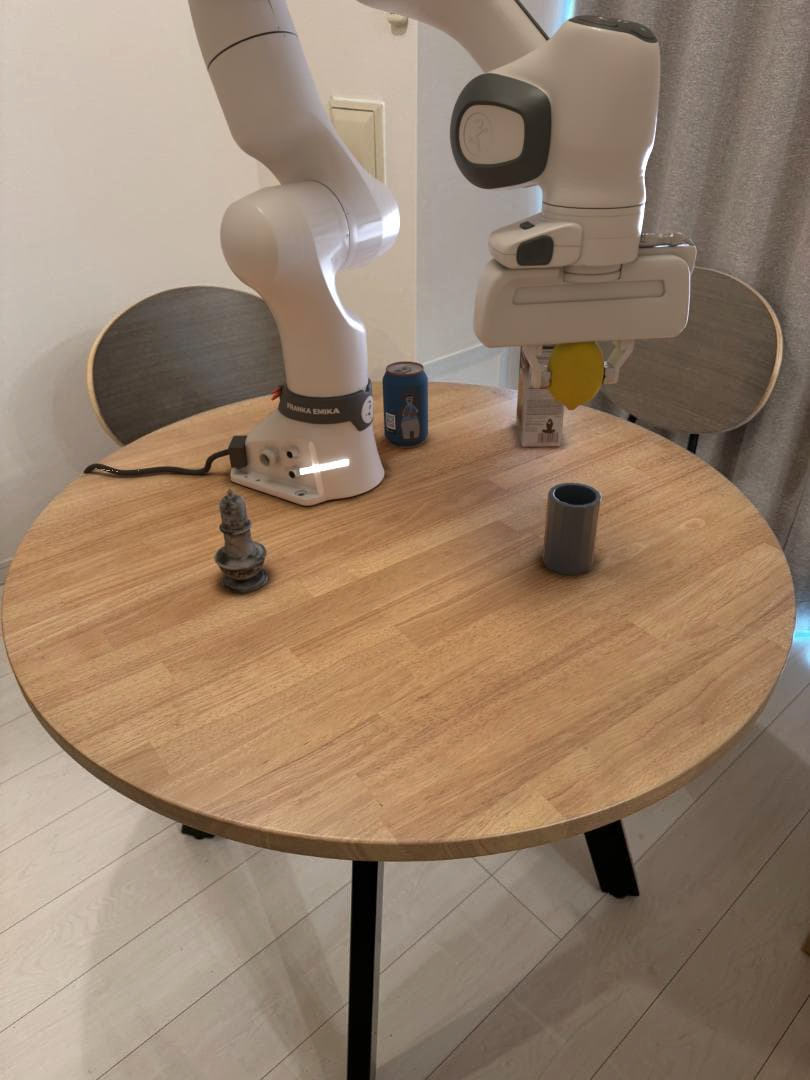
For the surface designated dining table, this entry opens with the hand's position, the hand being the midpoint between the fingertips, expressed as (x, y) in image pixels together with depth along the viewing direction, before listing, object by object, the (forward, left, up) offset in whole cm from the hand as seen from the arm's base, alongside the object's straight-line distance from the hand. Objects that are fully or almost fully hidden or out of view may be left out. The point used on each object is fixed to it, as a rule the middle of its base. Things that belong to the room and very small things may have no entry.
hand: (573, 384), depth 73 cm
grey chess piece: (-33, -14, -23) cm, 43 cm away
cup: (+1, +3, -23) cm, 23 cm away
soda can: (-30, +28, -23) cm, 47 cm away
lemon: (0, 0, -3) cm, 3 cm away
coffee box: (-11, +37, -23) cm, 45 cm away
